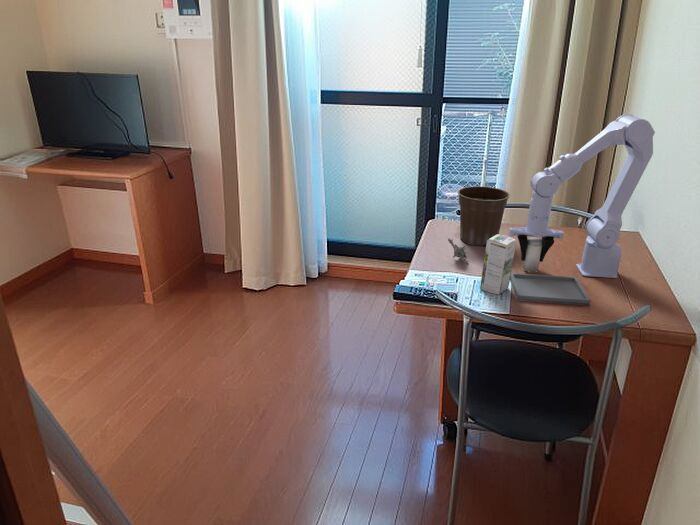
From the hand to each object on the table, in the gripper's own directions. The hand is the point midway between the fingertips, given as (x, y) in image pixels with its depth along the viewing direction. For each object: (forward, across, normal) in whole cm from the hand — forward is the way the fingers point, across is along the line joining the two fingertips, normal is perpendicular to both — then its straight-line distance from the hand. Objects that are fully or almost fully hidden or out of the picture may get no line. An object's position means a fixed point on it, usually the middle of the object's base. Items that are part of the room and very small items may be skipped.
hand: (531, 259), depth 156 cm
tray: (+3, +2, -14) cm, 14 cm away
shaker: (+3, 0, 0) cm, 3 cm away
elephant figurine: (+3, -21, +4) cm, 21 cm away
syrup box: (+3, -12, -15) cm, 19 cm away
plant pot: (+3, -13, +22) cm, 26 cm away
